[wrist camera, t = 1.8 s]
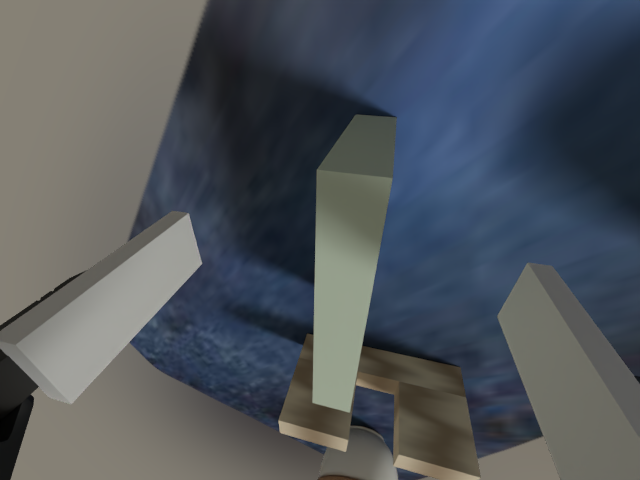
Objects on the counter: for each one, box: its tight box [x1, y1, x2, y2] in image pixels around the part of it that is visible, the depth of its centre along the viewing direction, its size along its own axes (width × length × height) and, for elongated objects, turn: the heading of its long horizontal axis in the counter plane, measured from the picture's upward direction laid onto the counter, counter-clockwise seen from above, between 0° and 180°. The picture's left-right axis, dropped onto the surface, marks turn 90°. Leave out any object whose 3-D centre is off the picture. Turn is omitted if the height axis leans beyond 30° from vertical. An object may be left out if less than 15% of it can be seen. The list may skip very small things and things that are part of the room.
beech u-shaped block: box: [279, 334, 481, 480], centre depth 27 cm, size 16×2×9 cm, turn 88°
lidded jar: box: [318, 425, 398, 480], centre depth 38 cm, size 11×11×9 cm
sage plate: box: [312, 114, 397, 413], centre depth 18 cm, size 16×2×10 cm, turn 178°
